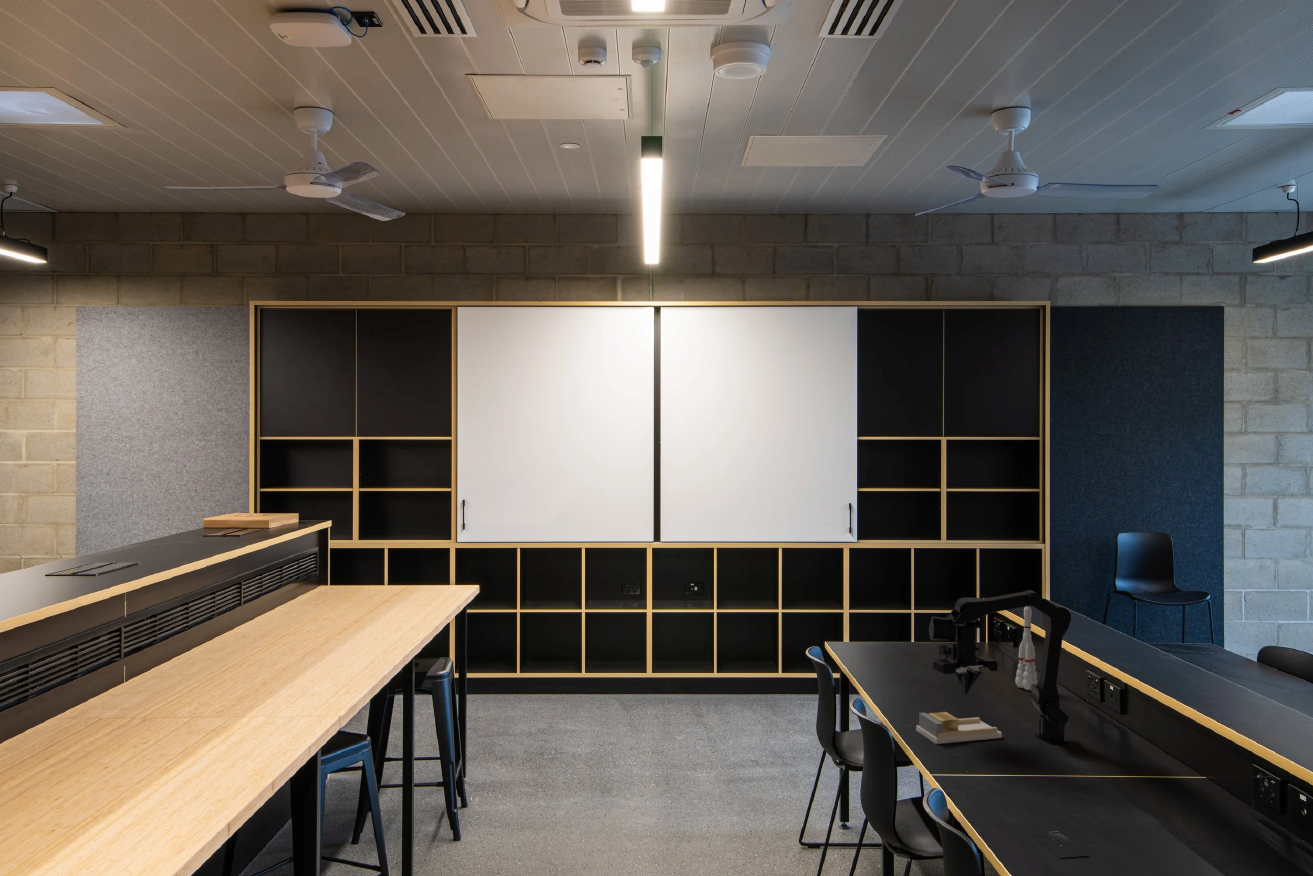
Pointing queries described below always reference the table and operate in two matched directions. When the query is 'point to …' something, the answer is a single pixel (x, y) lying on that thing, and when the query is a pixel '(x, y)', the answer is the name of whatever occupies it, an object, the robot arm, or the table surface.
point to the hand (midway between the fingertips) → (965, 693)
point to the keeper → (946, 720)
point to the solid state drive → (1054, 836)
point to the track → (966, 730)
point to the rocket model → (1026, 656)
